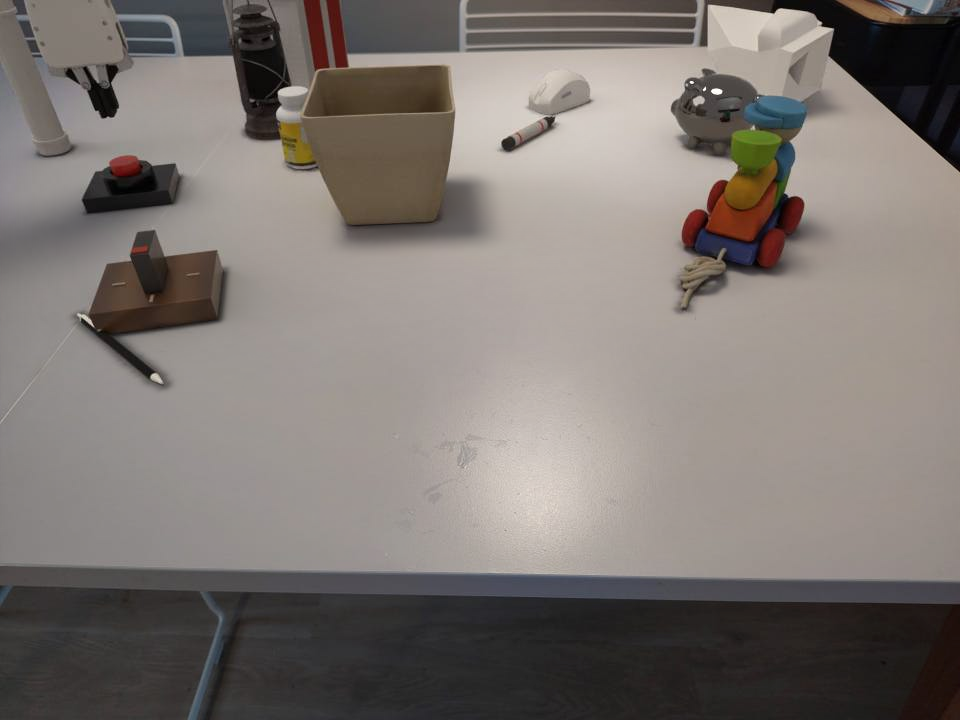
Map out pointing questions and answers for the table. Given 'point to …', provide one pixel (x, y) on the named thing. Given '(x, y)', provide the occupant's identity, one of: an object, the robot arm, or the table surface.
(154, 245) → the dial knob
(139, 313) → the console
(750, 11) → the white angular block
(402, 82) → the flower pot
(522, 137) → the marker
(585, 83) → the computer mouse
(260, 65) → the lantern
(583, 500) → the table surface
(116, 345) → the pen
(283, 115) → the pill bottle
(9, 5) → the pipe
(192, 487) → the table surface
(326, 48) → the red white striped box
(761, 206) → the toy train
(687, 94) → the piggy bank
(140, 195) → the black button base
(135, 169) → the button
